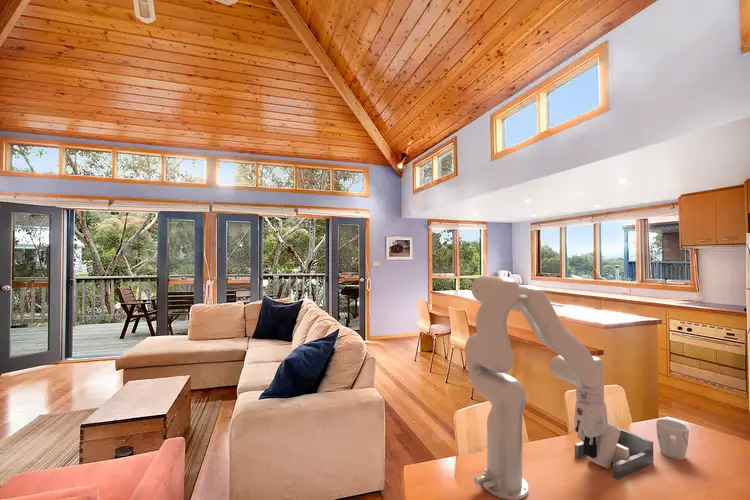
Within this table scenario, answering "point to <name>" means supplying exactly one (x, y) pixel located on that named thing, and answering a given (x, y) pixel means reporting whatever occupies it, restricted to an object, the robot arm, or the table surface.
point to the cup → (606, 447)
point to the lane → (637, 448)
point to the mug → (672, 438)
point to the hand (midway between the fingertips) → (590, 455)
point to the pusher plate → (620, 453)
